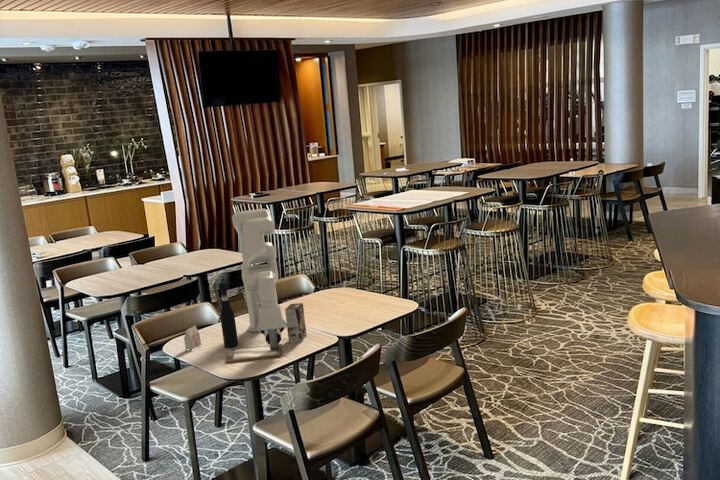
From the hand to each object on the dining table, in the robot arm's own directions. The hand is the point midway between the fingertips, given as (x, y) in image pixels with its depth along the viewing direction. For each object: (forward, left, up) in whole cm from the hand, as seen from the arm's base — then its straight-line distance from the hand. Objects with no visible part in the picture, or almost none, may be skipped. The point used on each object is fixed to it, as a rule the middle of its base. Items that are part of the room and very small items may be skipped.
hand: (273, 342), depth 295 cm
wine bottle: (-15, -21, -5) cm, 26 cm away
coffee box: (-14, +10, -5) cm, 18 cm away
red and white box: (-18, -39, -5) cm, 43 cm away
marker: (0, 0, -3) cm, 3 cm away
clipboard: (0, -9, -5) cm, 10 cm away
